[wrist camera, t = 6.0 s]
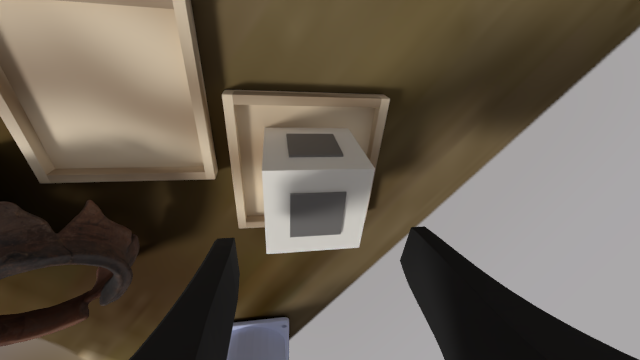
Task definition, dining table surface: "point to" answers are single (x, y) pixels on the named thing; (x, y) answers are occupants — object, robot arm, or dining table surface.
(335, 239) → the white marked cube
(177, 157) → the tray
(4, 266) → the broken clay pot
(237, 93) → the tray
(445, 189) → the dining table surface
